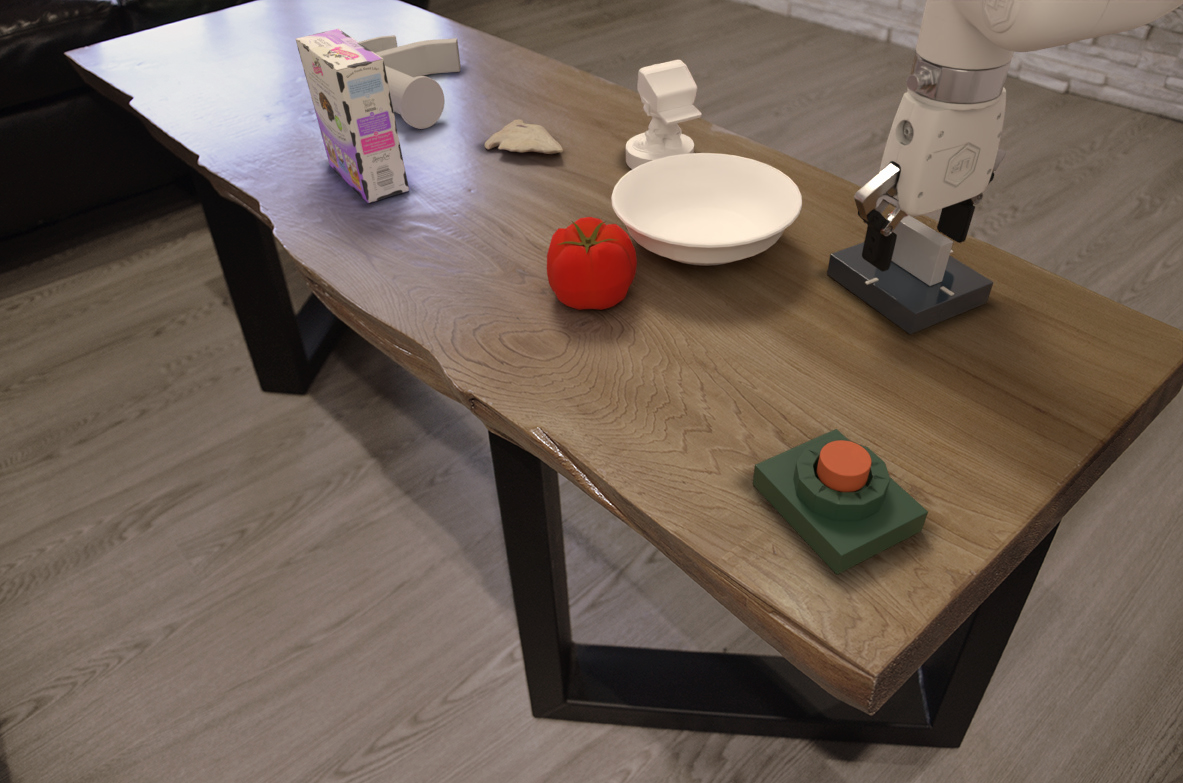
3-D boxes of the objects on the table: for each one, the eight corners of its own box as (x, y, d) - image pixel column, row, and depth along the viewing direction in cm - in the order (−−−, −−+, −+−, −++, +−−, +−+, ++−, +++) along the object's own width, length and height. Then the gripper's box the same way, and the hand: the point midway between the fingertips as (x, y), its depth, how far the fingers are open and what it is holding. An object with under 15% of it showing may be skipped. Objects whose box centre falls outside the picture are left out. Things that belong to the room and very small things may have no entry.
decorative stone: (522, 134, 118) (517, 113, 116) (585, 145, 111) (581, 123, 109) (479, 158, 114) (474, 136, 112) (542, 171, 107) (537, 149, 105)
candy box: (411, 191, 105) (385, 57, 94) (367, 206, 102) (334, 70, 92) (368, 152, 114) (340, 25, 103) (327, 164, 111) (293, 36, 100)
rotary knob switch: (991, 301, 83) (999, 278, 82) (905, 336, 80) (911, 314, 78) (904, 245, 91) (909, 224, 90) (821, 276, 88) (825, 253, 86)
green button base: (922, 531, 62) (934, 494, 60) (836, 575, 60) (845, 539, 57) (832, 447, 69) (840, 411, 66) (752, 484, 66) (756, 448, 64)
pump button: (877, 480, 61) (882, 464, 60) (839, 499, 60) (842, 482, 59) (844, 450, 64) (848, 433, 63) (806, 467, 63) (809, 451, 61)
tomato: (582, 263, 91) (579, 200, 86) (652, 288, 87) (652, 224, 82) (527, 306, 86) (520, 241, 81) (599, 335, 82) (596, 269, 77)
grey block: (942, 281, 82) (954, 239, 79) (929, 286, 81) (941, 243, 78) (891, 248, 86) (900, 207, 83) (879, 252, 86) (888, 211, 83)
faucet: (397, 84, 113) (308, 45, 127) (406, 134, 117) (319, 91, 132) (515, 50, 123) (421, 18, 138) (519, 97, 127) (427, 61, 142)
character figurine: (672, 139, 113) (675, 48, 105) (710, 167, 107) (716, 72, 99) (614, 154, 110) (612, 61, 102) (649, 184, 104) (650, 88, 96)
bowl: (816, 222, 96) (824, 170, 92) (763, 318, 83) (769, 262, 78) (654, 190, 103) (655, 140, 99) (581, 274, 90) (578, 221, 85)
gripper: (911, 114, 66) (871, 295, 77) (1066, 68, 72) (1007, 243, 83) (847, 83, 71) (818, 257, 82) (996, 42, 77) (950, 210, 88)
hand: (913, 249), depth 83 cm, fingers open, 9 cm apart
